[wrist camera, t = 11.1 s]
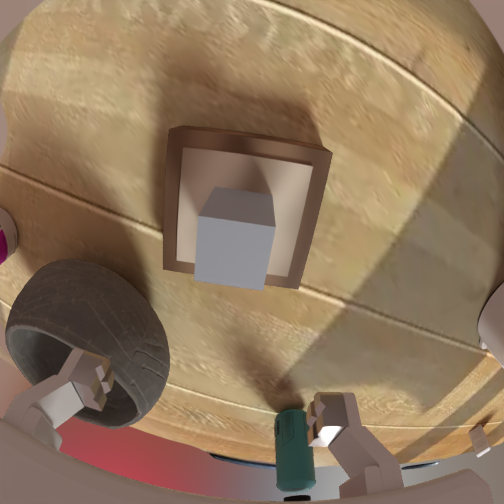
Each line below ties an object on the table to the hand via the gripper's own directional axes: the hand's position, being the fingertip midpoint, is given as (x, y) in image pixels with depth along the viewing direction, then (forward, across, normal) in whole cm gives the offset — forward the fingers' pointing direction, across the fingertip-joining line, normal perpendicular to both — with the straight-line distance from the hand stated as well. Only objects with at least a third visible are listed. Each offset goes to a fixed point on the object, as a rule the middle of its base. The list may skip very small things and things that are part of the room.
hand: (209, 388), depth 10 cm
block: (+18, 0, 0) cm, 18 cm away
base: (+22, 0, 0) cm, 22 cm away
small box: (+23, -90, +63) cm, 112 cm away
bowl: (+22, +16, +17) cm, 32 cm away
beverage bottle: (+22, -14, +37) cm, 46 cm away
